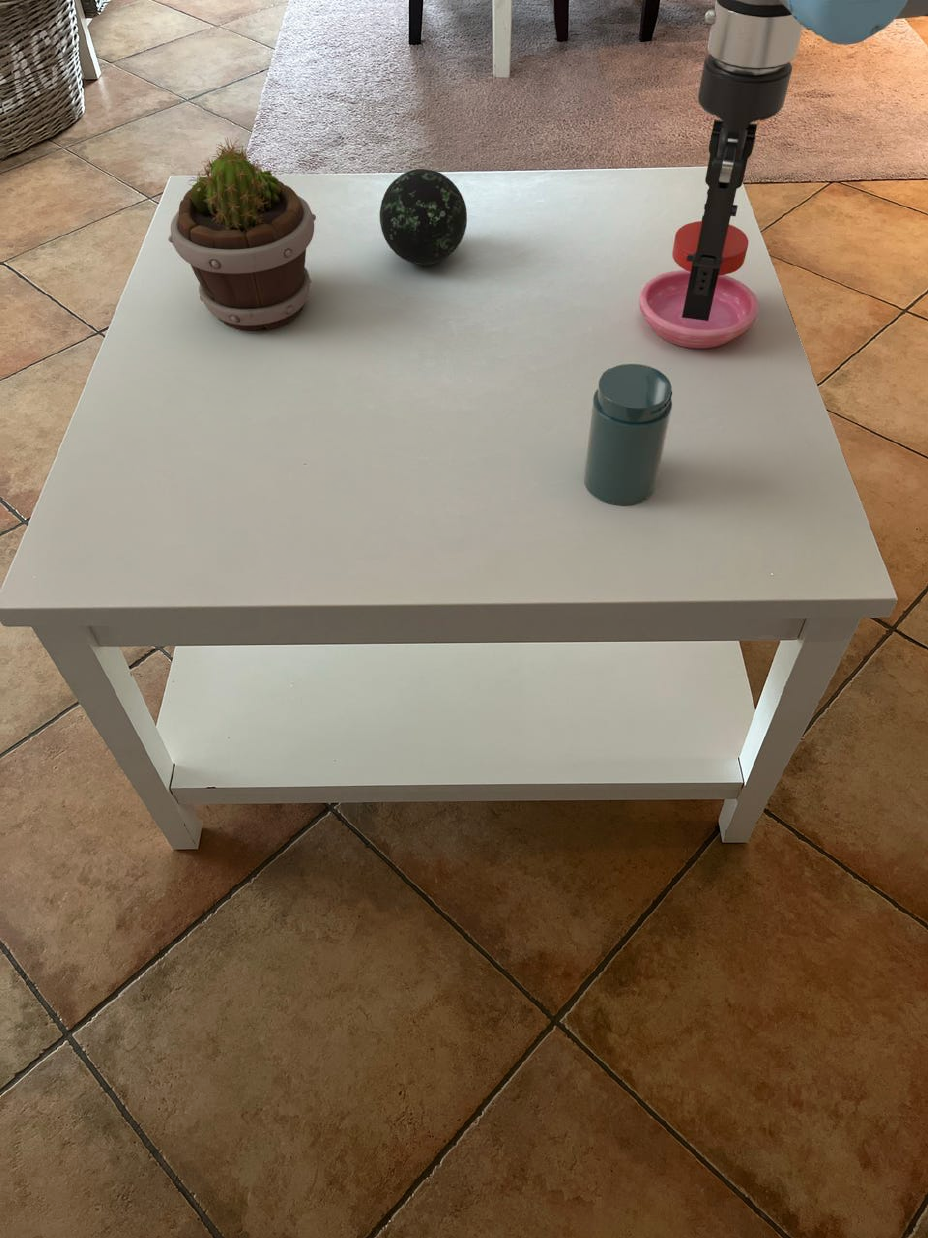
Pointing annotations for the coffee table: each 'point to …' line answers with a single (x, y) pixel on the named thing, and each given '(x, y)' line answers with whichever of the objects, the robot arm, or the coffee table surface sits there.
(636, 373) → the lidded canister
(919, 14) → the robot arm
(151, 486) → the coffee table surface
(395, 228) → the decorative stone
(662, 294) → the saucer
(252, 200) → the flowerpot
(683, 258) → the jam lid
